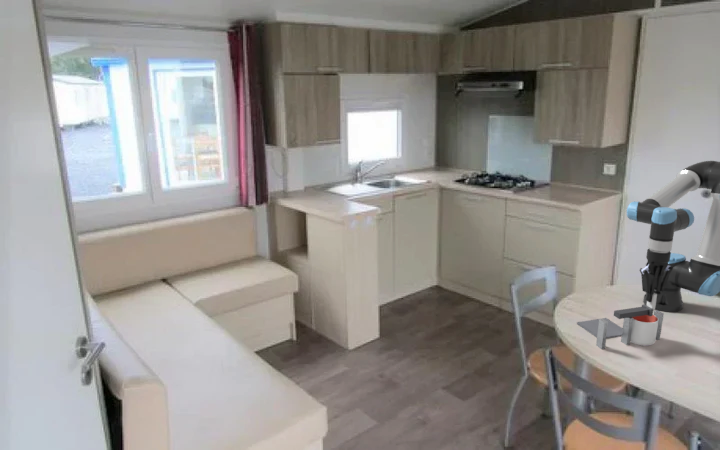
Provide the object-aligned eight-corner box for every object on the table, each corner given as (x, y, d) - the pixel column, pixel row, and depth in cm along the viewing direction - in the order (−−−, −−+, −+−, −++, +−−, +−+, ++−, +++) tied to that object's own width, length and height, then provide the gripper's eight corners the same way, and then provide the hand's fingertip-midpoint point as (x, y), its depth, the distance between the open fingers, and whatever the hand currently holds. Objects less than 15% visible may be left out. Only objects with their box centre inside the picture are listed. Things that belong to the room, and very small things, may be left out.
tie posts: (653, 336, 204) (657, 310, 201) (659, 339, 201) (663, 313, 198) (596, 345, 198) (599, 318, 195) (601, 349, 195) (604, 322, 192)
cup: (658, 348, 195) (662, 323, 193) (629, 346, 197) (633, 321, 195) (650, 335, 205) (653, 312, 202) (622, 333, 207) (625, 310, 204)
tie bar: (643, 311, 200) (644, 304, 200) (652, 316, 196) (653, 309, 196) (612, 315, 197) (613, 308, 196) (620, 320, 193) (621, 313, 192)
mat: (605, 319, 219) (606, 317, 219) (630, 334, 206) (630, 333, 206) (576, 323, 216) (576, 322, 215) (599, 339, 202) (599, 338, 202)
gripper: (665, 245, 197) (656, 303, 203) (636, 248, 193) (628, 307, 200) (682, 251, 190) (672, 311, 196) (652, 254, 186) (643, 315, 193)
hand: (650, 309), depth 198 cm, fingers closed
